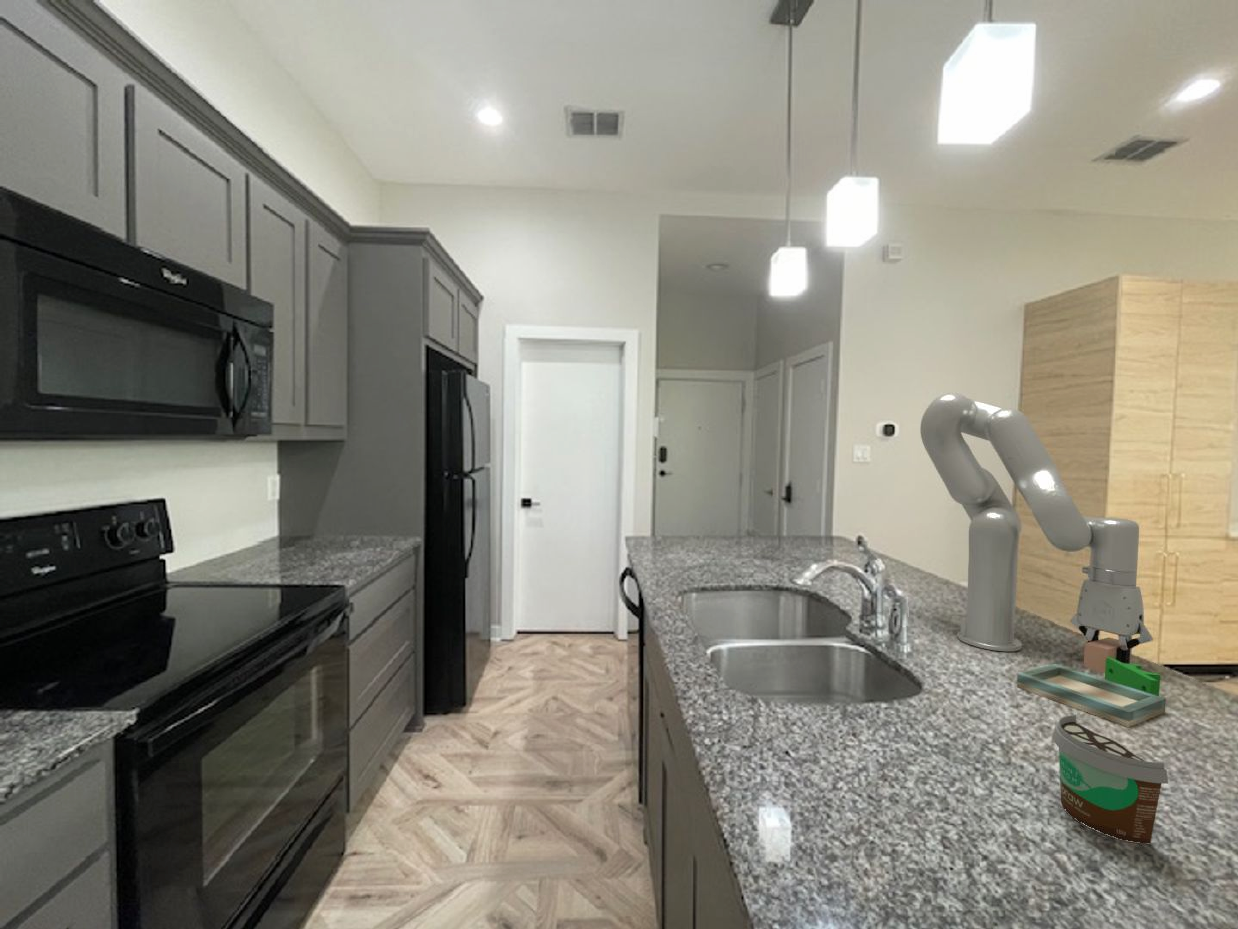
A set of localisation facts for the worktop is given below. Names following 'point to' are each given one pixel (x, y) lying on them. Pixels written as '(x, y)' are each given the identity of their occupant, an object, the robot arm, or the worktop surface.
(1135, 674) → the pipe clamp
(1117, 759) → the food container
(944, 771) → the worktop surface
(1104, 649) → the salmon pink rectangular block
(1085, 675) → the nest board
